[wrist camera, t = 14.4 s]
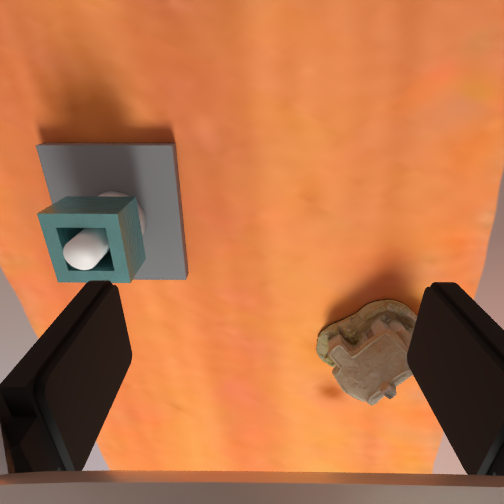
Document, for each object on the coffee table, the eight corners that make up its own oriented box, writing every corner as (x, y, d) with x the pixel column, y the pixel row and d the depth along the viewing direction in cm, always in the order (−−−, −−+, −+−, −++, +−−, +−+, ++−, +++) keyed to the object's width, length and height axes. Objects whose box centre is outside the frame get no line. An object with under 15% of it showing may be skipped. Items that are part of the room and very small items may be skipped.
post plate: (44, 142, 35) (-33, 164, 26) (175, 143, 35) (145, 164, 26) (79, 273, 43) (29, 326, 33) (188, 273, 42) (169, 327, 33)
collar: (66, 196, 33) (37, 213, 29) (136, 196, 33) (117, 213, 29) (82, 258, 36) (58, 282, 32) (146, 258, 36) (130, 282, 32)
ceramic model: (357, 381, 51) (379, 444, 42) (302, 346, 48) (313, 406, 39) (432, 323, 46) (474, 381, 37) (375, 280, 43) (407, 332, 34)
